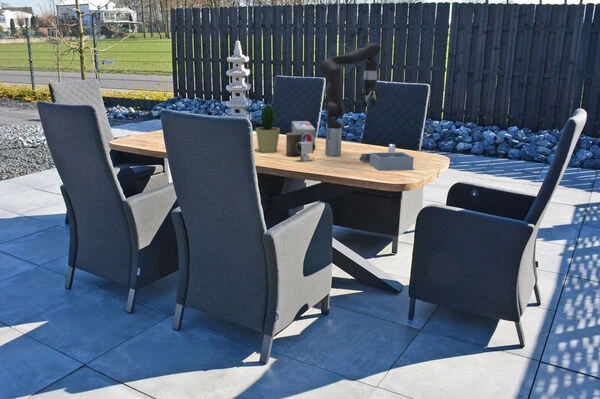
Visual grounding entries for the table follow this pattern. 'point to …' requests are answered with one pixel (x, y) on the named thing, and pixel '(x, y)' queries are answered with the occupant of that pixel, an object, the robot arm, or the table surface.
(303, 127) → the soda pack
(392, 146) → the strut
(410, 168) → the bin
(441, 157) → the table surface
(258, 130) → the potted cactus
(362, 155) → the socket block
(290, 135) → the pillar candle
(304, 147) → the pneumatic valve
